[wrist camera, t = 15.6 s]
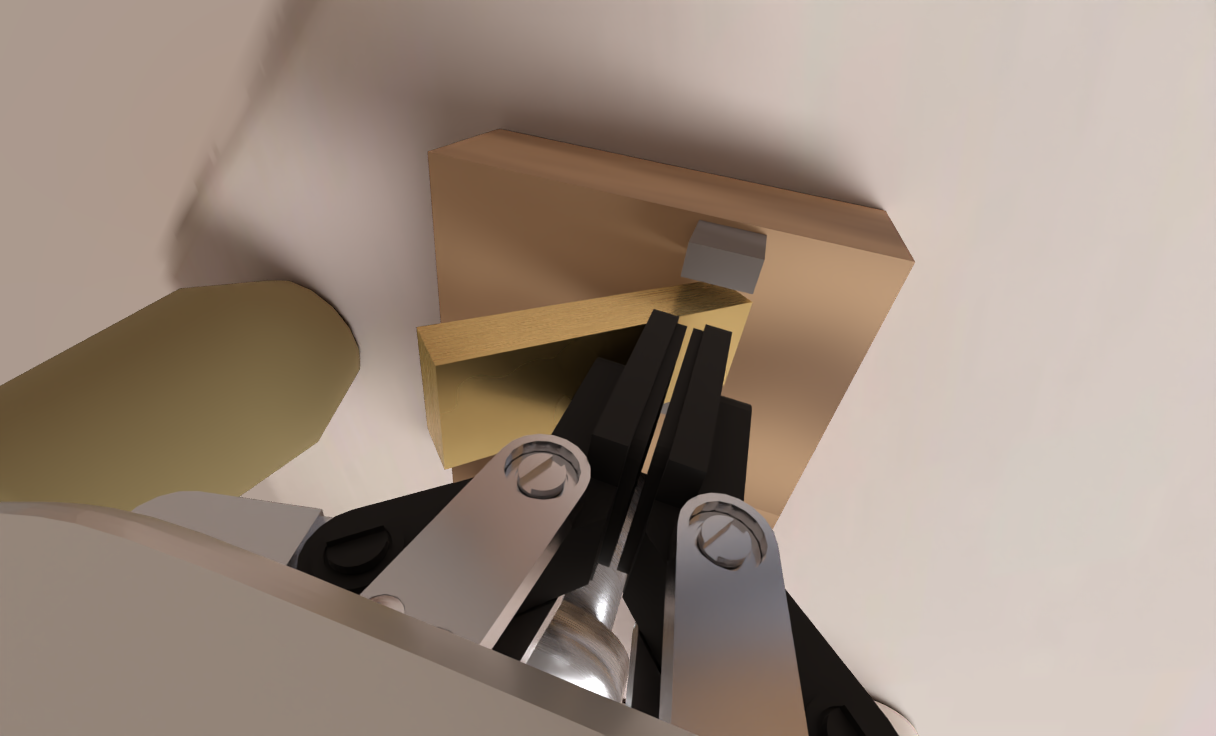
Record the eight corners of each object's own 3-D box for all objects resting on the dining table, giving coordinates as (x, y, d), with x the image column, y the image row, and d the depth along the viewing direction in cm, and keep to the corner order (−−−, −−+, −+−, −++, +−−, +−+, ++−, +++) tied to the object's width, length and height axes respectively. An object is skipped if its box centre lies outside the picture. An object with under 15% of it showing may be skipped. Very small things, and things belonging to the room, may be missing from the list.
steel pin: (669, 496, 23) (604, 763, 15) (563, 463, 24) (444, 698, 15) (693, 412, 20) (628, 688, 11) (571, 378, 21) (428, 613, 12)
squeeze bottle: (413, 361, 23) (-212, 904, 9) (337, 423, 27) (-163, 850, 13) (274, 217, 21) (-887, 624, 6) (215, 310, 25) (-551, 674, 11)
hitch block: (730, 544, 23) (717, 664, 19) (498, 467, 25) (436, 560, 21) (885, 210, 14) (932, 291, 10) (499, 128, 16) (387, 164, 11)
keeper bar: (694, 359, 13) (723, 385, 13) (427, 428, 10) (444, 469, 9) (717, 278, 12) (752, 302, 11) (416, 327, 9) (435, 366, 8)
